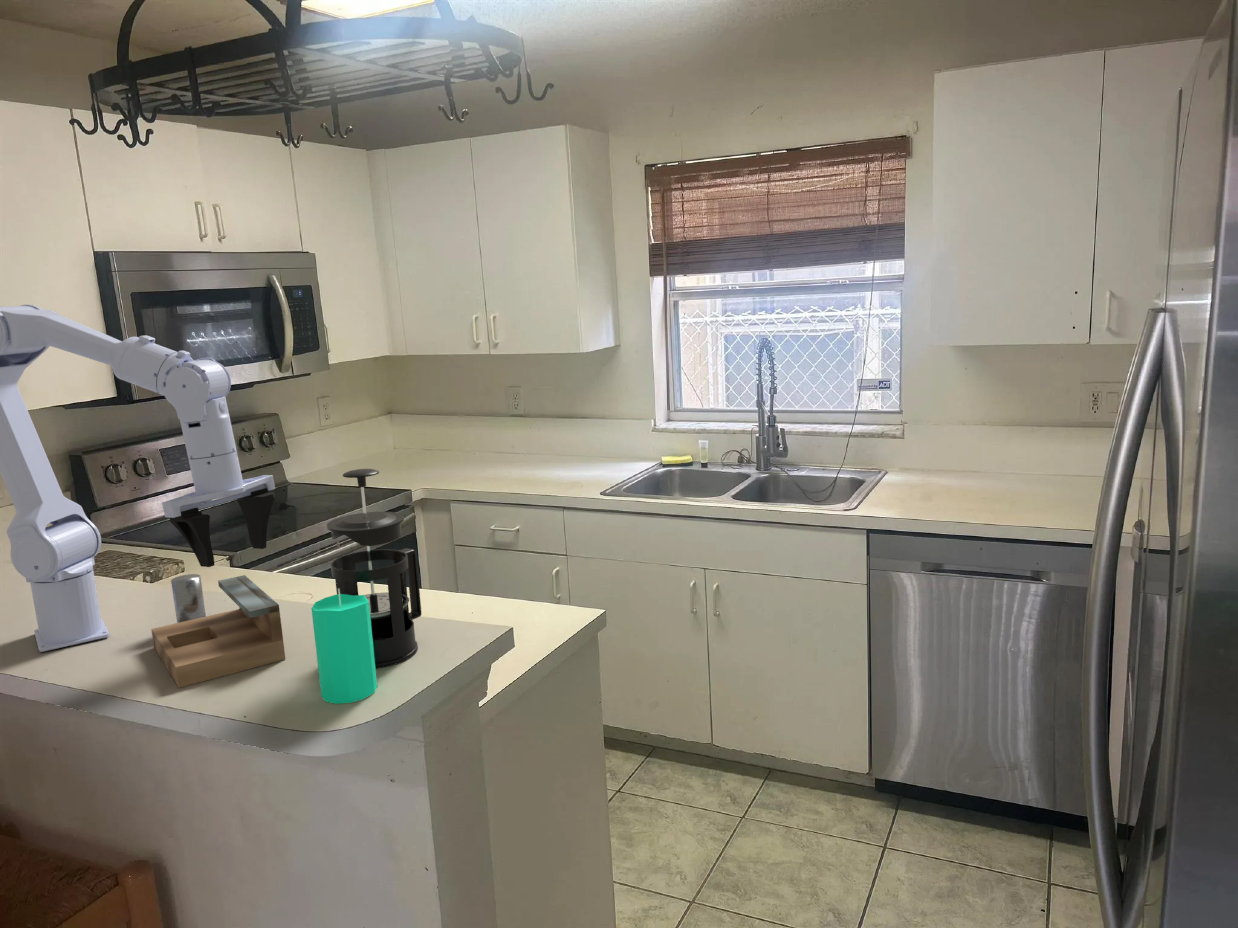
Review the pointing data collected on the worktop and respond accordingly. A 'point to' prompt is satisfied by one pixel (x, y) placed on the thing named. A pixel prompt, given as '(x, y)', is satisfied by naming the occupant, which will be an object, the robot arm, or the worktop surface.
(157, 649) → the socket board
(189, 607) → the peg
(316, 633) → the candle
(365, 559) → the french press
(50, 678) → the worktop surface
